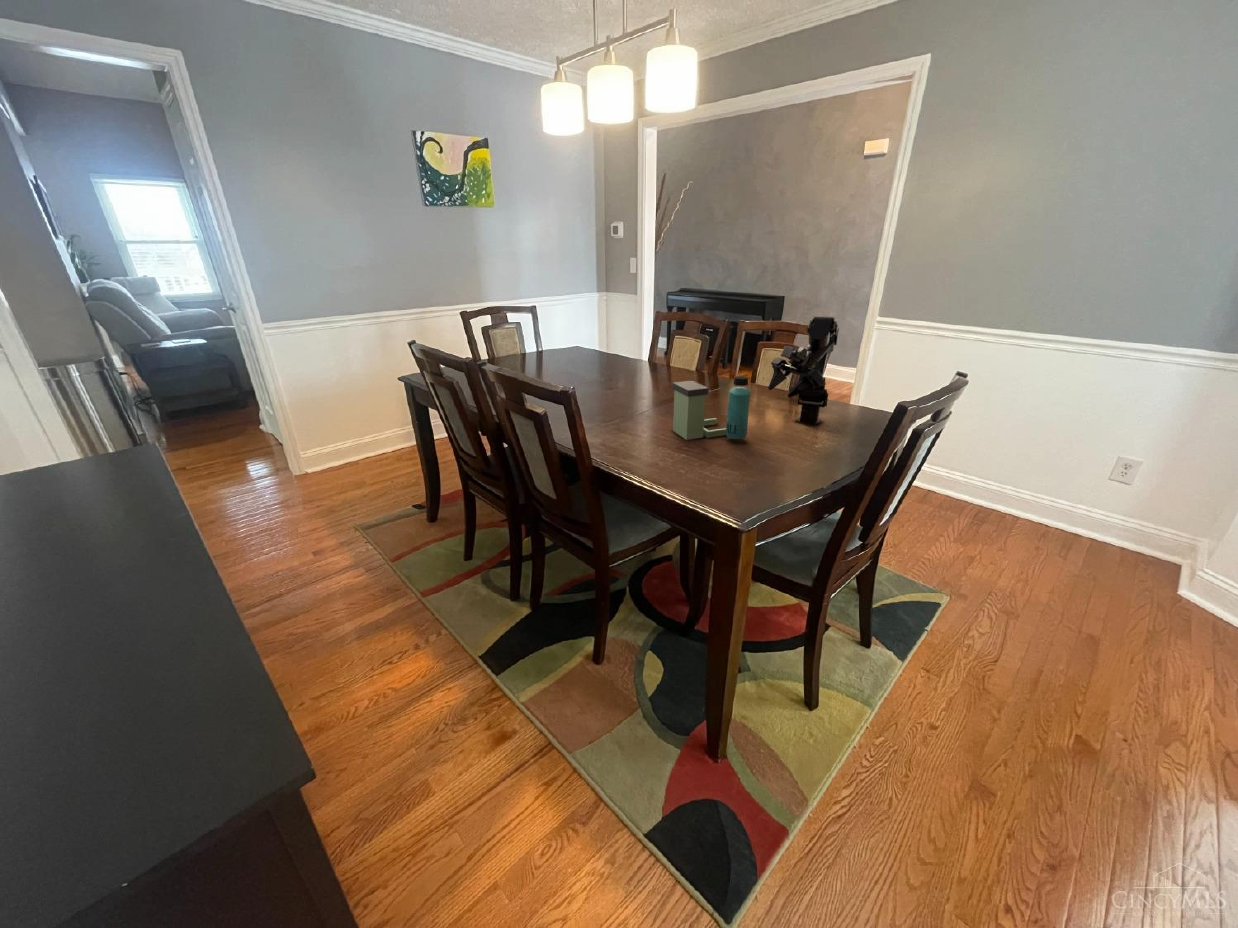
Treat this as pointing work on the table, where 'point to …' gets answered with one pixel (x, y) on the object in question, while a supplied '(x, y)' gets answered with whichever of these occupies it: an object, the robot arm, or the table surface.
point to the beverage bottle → (738, 409)
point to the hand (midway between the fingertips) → (778, 393)
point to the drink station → (692, 411)
